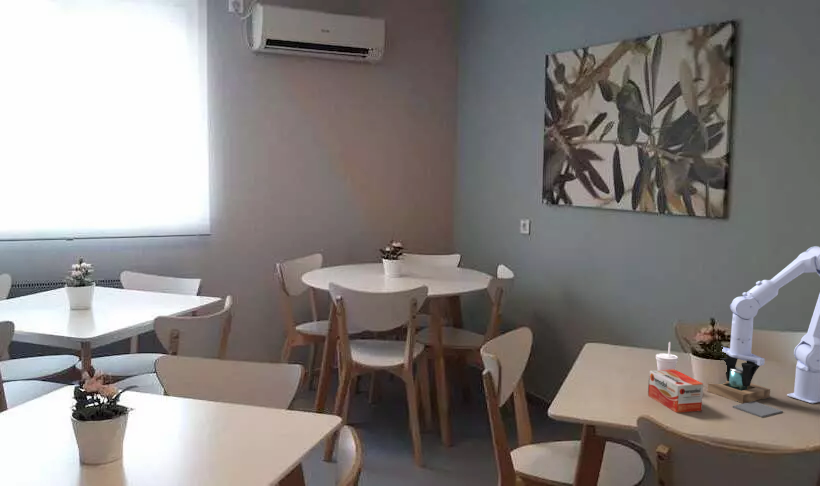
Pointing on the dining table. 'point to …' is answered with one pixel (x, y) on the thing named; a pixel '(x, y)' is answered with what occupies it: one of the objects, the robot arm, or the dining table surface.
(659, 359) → the smoothie
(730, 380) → the teal can
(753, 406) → the mat
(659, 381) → the medicine box
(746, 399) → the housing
